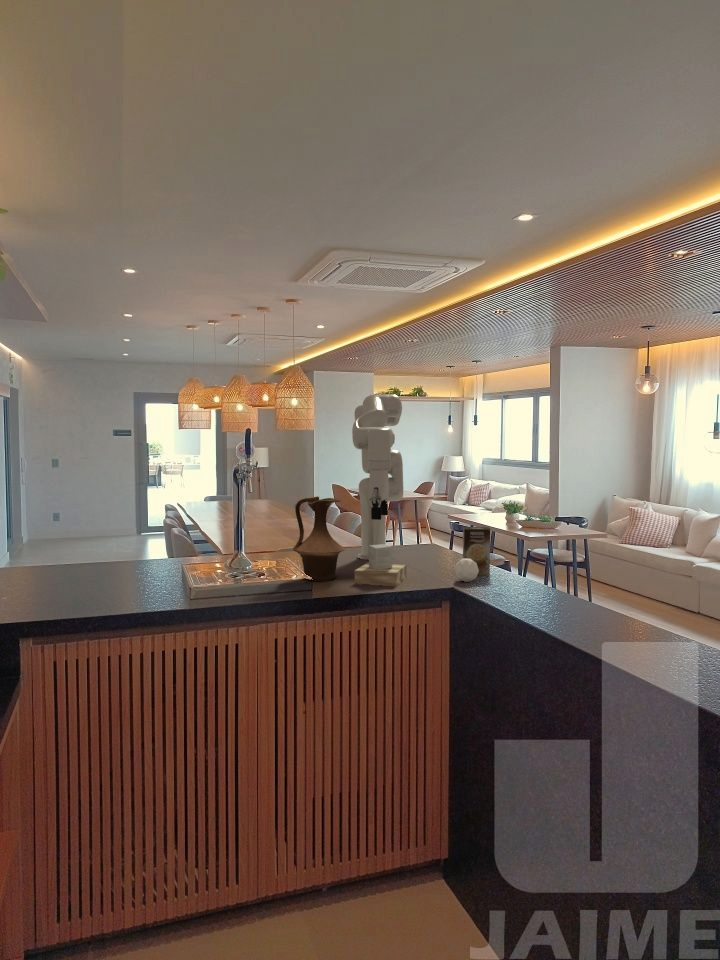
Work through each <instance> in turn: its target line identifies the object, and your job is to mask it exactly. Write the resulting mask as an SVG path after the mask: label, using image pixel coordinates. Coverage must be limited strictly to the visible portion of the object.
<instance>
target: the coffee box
mask: <svg viewBox="0 0 720 960" xmlns="http://www.w3.org/2000/svg"><path fill="white" fill-rule="evenodd" d="M462 527H463V528H462V529H463V530H462V532H463V534H462V559H463V558H467V559H472V560H473V561H474V562H476V563H477V566H478V569H479V572H478V574H477V576H490V575H491V573H490V572H491V571H490V570H491V569H490V568H491V528H490V527H489V526H462Z"/></svg>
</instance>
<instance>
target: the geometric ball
mask: <svg viewBox="0 0 720 960" xmlns="http://www.w3.org/2000/svg"><path fill="white" fill-rule="evenodd" d="M478 572H479V569H478V566H477V563H476V562H474V561H473V560H472V559H467V558H463V557H462V558H461V559H459V560H458V561H457V562H456V564H455V566H454V574H455V577H456V578H457V579H458V580H460V581H461V582H462V581H464V582H465V583H466V582H467V583H470V582H472V581H474V580H475V579H476V578H477V577H478V575H477V574H478Z"/></svg>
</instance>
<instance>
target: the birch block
mask: <svg viewBox="0 0 720 960" xmlns="http://www.w3.org/2000/svg"><path fill="white" fill-rule="evenodd" d="M406 578H407V564H399V563H398V564H397V563H396V564H395V563H392V568H388V569H379V570H375V569H373V568H371V567H369V562H366V563H364V564H363V565H361V566H360V567H358V568H356V569H354V584H355V583H357V584H356V585H362V584H370V585H369V586H379V585H383V587H398V586H399V585H400V584H401V583H402V582H403V581H404V580H405V579H406ZM401 581H402V582H401ZM400 582H401V583H400ZM399 583H400V584H399ZM398 584H399V585H398Z"/></svg>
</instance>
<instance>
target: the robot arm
mask: <svg viewBox="0 0 720 960" xmlns="http://www.w3.org/2000/svg"><path fill="white" fill-rule="evenodd" d="M402 411H403V404H402V401H401V398H400V397H399V396H398V395H396V394H394V393H392V394H388V393H387V394H369V395H368V396H366V397H365V398H364V399H363V401H362V404H361V405H358V406H357V407H356V408H355V409H354V422H353V425H352V428H351V429H352V431H351V432H352V433H351V435H352V444H353V447H354V448H355V449H357V450H361V467H362V471H363V472H364V473H366V474H367V475H368V474H369V477H365V478H363V479H361V480H360V481H359V483H358V495H359V499H360V500H359V503H360V519H361V521H360V523H361V525H360V527H361V530H360V533H361V534H360V538H361V539H360V540H361V541H360V542H361V543H360V544H361V546H360V547H361V553H357V558H358V559H359V558H360V559H359V560H364V561H365V560H366V561H367V560H368V561H369V545H381V544H385V545H387V544H386V516H388V515H389V513H388V512H389V510H388V509H389V504H388V502H399V501H401V500H402V499H403V497H404V467H403V465H404V464H403V456H402V454H401V452H400V451H399V450H397V449H392V447H393V445H395V439H396V437H395V433H394V431H393V429H392V428H390V427H396V426H398V424H399V422H400V419H401V416H402ZM389 476H391V477H389Z"/></svg>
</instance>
